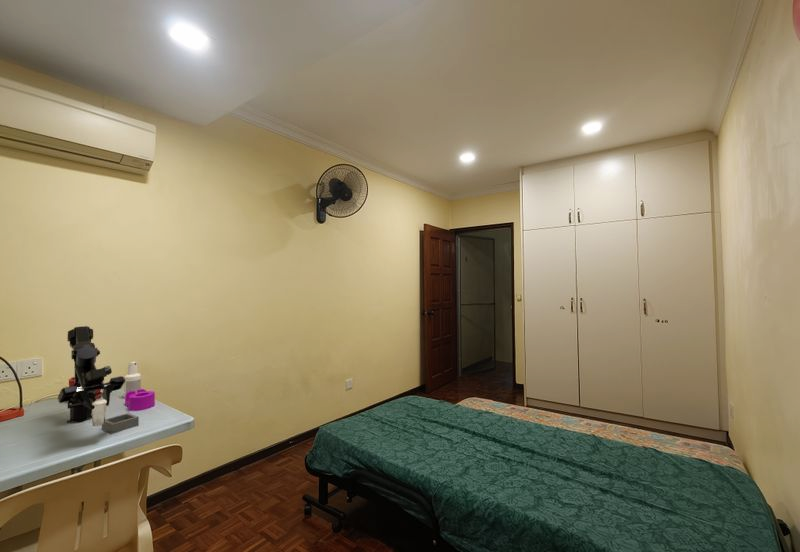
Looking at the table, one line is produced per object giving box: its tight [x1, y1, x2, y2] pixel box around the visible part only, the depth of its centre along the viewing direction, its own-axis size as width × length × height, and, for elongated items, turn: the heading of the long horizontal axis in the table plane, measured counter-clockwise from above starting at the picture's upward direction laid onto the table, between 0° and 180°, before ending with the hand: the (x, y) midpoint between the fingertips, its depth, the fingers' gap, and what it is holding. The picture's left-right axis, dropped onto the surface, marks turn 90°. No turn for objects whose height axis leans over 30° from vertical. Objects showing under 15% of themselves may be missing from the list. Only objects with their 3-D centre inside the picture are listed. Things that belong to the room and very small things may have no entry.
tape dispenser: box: [124, 388, 156, 412], centre depth 168 cm, size 16×10×6 cm, turn 50°
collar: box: [101, 412, 139, 435], centre depth 142 cm, size 9×9×4 cm
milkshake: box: [90, 398, 107, 427], centre depth 130 cm, size 4×5×10 cm
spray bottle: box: [123, 361, 142, 399], centre depth 181 cm, size 7×7×18 cm
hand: (100, 407), depth 129 cm, fingers closed on milkshake, 4 cm apart
